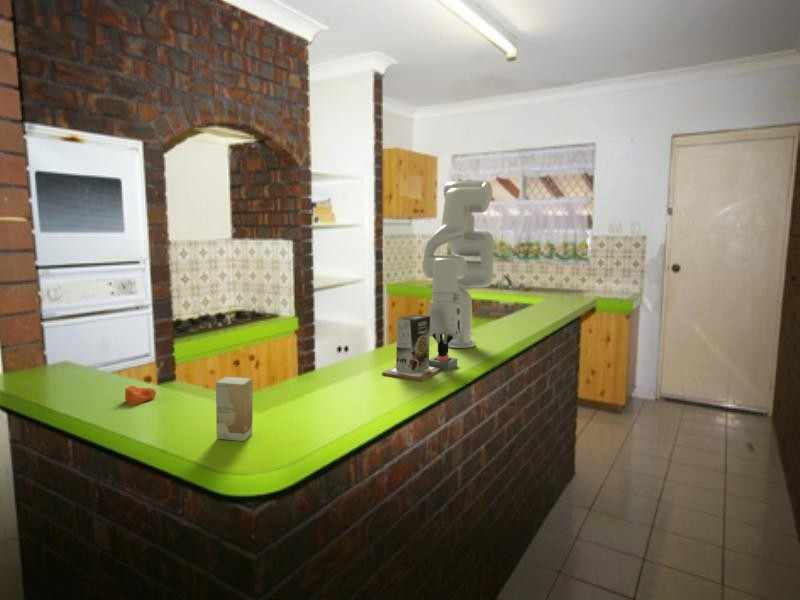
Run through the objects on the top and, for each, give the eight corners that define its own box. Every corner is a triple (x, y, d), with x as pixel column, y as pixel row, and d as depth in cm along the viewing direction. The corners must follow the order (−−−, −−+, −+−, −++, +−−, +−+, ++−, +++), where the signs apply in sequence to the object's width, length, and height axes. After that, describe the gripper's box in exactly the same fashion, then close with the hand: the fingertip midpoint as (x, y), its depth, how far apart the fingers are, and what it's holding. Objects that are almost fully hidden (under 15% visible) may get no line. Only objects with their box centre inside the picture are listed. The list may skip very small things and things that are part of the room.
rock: (178, 400, 134) (177, 383, 133) (132, 415, 123) (131, 397, 122) (147, 392, 140) (146, 376, 139) (101, 405, 129) (100, 388, 128)
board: (404, 364, 168) (404, 361, 168) (441, 370, 162) (441, 367, 162) (382, 374, 156) (382, 371, 156) (421, 381, 150) (421, 378, 150)
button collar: (437, 362, 171) (437, 355, 170) (457, 365, 167) (457, 358, 167) (427, 367, 165) (427, 360, 164) (448, 370, 161) (448, 363, 161)
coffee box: (413, 374, 153) (413, 320, 151) (395, 370, 157) (396, 317, 155) (430, 367, 161) (431, 315, 159) (412, 364, 165) (413, 313, 162)
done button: (439, 363, 168) (440, 353, 168) (450, 364, 167) (450, 354, 166) (435, 365, 165) (435, 355, 165) (445, 367, 164) (445, 357, 163)
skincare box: (215, 439, 108) (213, 382, 106) (226, 431, 112) (224, 375, 111) (245, 441, 107) (243, 383, 105) (254, 433, 111) (252, 377, 110)
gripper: (471, 298, 163) (469, 356, 165) (428, 294, 170) (426, 350, 172) (462, 300, 156) (460, 361, 159) (417, 297, 163) (416, 354, 166)
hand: (442, 355), depth 165 cm, fingers closed
